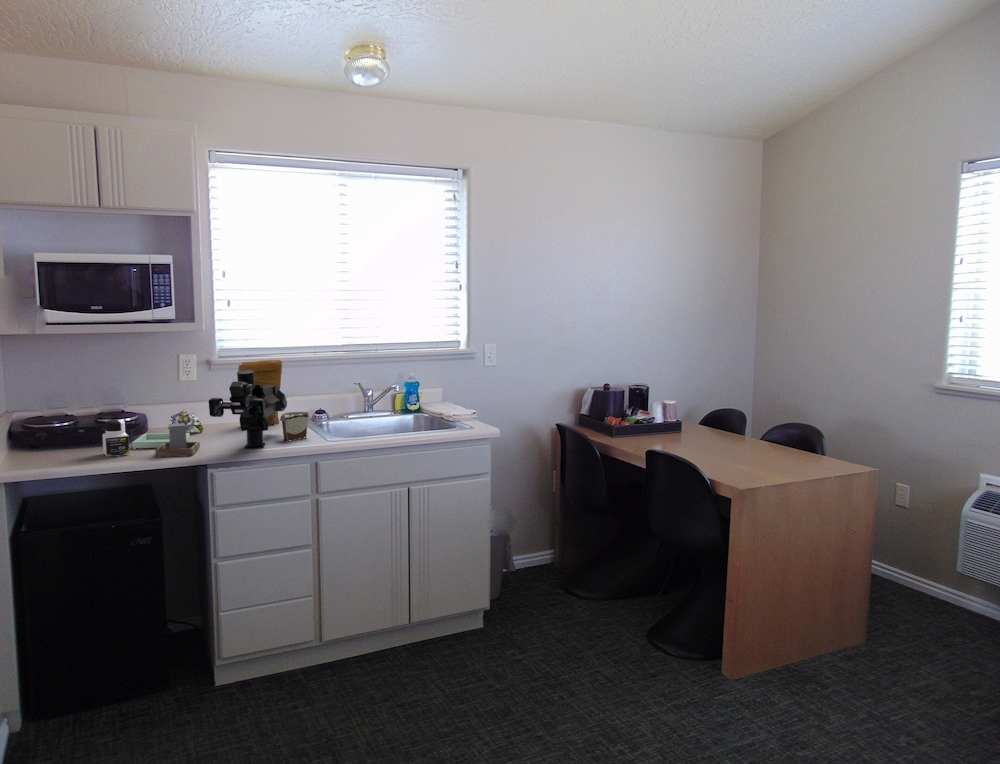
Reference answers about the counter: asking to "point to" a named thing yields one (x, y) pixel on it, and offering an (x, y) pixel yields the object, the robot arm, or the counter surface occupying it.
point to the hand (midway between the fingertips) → (228, 414)
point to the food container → (294, 425)
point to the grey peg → (177, 436)
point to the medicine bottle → (115, 438)
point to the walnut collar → (177, 450)
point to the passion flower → (187, 420)
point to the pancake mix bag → (265, 378)
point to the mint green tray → (153, 440)
